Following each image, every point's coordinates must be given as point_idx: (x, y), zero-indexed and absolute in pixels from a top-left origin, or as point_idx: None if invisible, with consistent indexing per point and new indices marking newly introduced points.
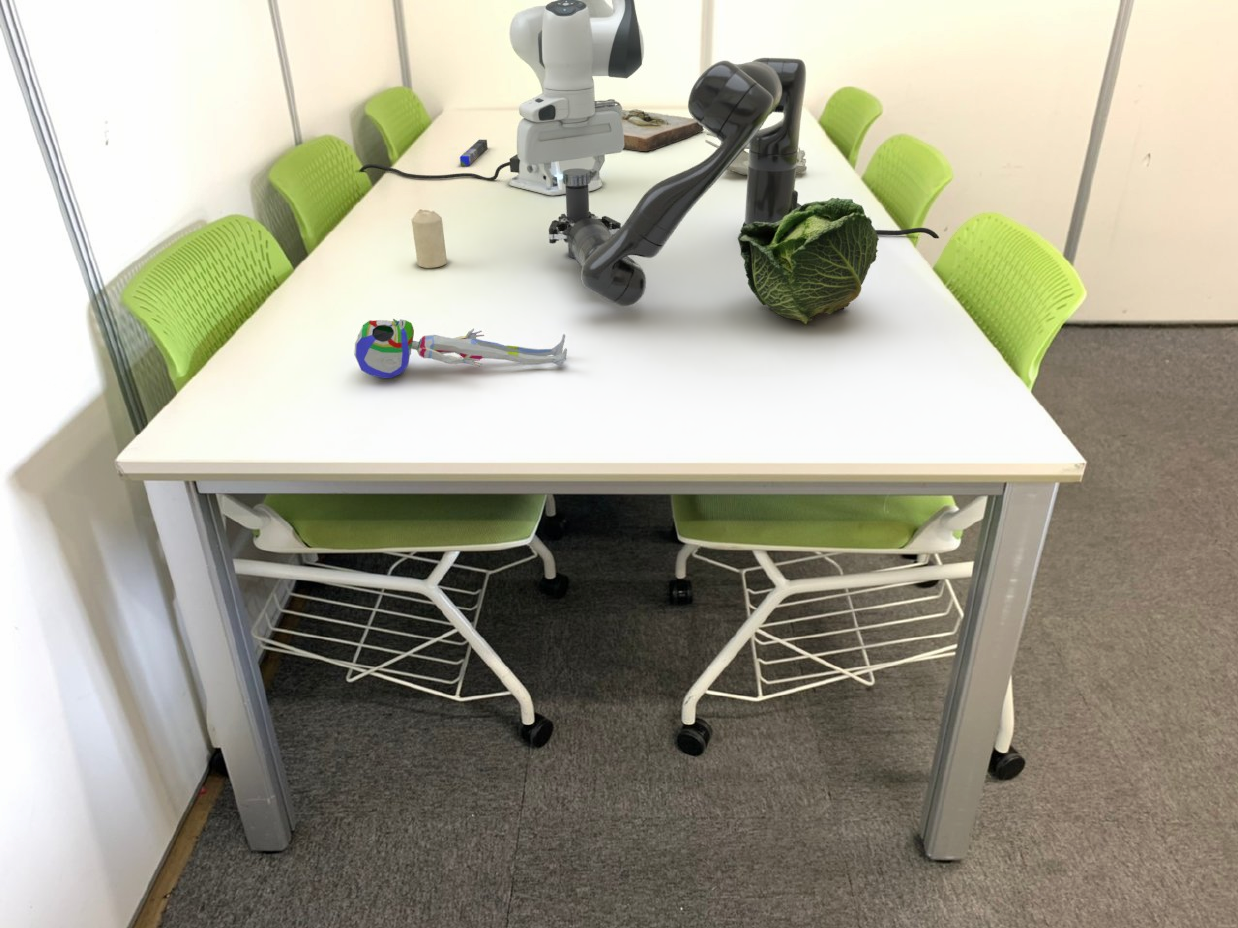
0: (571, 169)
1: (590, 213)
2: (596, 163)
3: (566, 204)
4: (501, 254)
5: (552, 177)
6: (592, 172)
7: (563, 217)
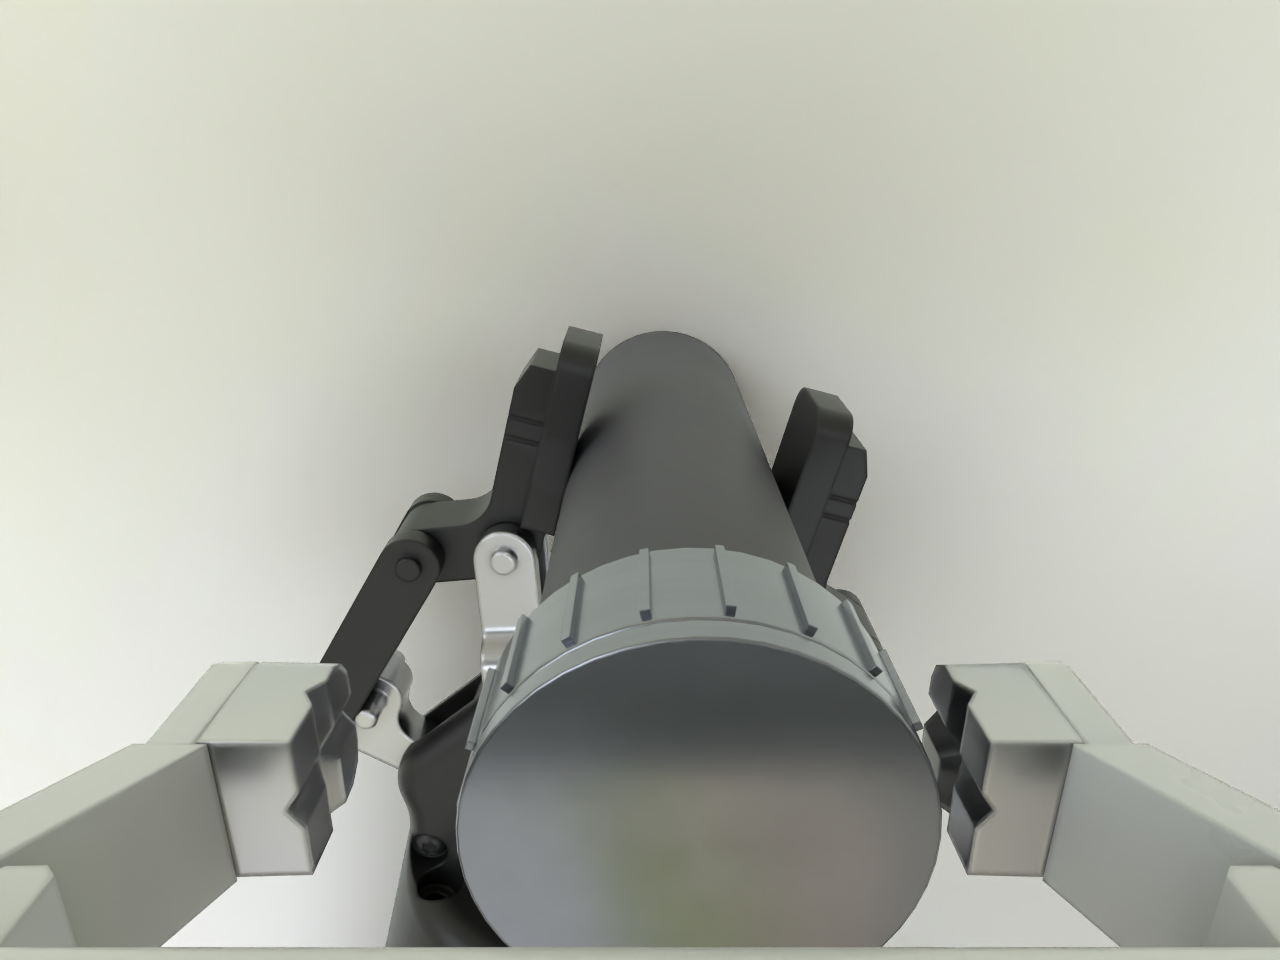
0: (702, 680)
1: (820, 499)
2: (1183, 886)
3: (550, 556)
4: (129, 77)
5: (223, 882)
6: (966, 870)
7: (530, 484)
